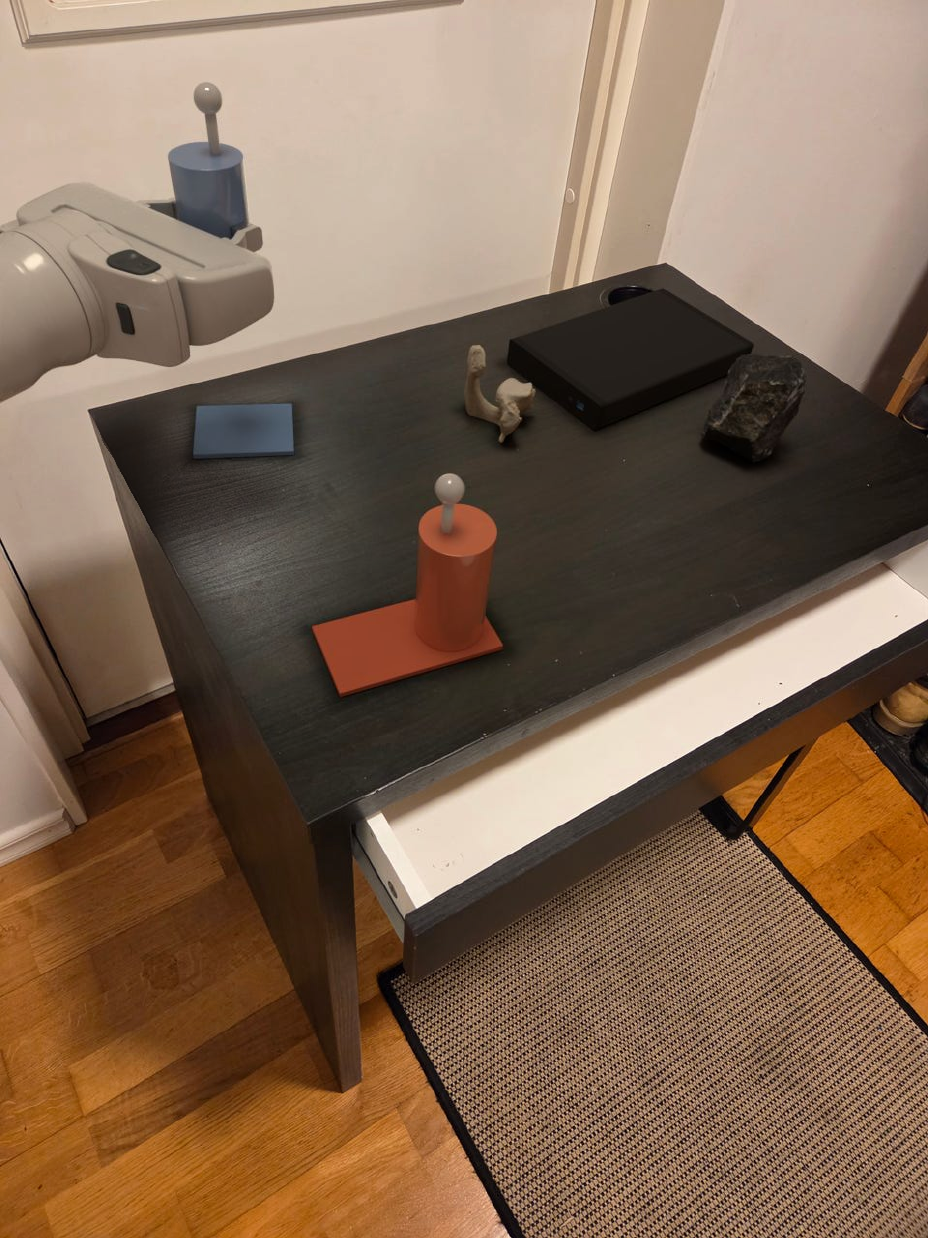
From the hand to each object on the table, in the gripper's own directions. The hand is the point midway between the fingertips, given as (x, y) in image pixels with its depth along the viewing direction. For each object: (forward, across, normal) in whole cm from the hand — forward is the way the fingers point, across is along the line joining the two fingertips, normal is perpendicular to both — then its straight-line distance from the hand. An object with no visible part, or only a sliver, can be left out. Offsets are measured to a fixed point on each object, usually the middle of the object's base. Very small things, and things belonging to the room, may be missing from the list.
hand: (223, 220), depth 67 cm
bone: (+16, +18, -20) cm, 31 cm away
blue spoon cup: (-1, 0, -5) cm, 5 cm away
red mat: (-12, +28, -20) cm, 36 cm away
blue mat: (-1, 0, -20) cm, 20 cm away
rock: (+28, +39, -20) cm, 52 cm away
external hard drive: (+34, +23, -20) cm, 46 cm away
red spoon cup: (-9, +29, -19) cm, 36 cm away
